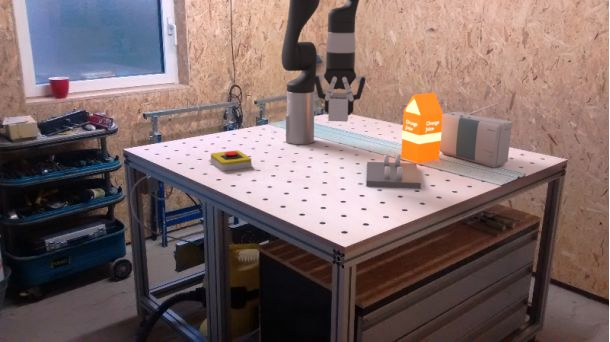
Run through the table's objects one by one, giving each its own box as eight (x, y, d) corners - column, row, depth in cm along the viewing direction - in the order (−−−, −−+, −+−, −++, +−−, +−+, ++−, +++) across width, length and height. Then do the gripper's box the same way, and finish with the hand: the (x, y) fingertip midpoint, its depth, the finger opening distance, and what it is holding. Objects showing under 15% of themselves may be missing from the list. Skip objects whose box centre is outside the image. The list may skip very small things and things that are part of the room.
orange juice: (439, 159, 170) (444, 94, 164) (417, 163, 165) (422, 96, 159) (421, 153, 176) (426, 90, 170) (400, 157, 172) (404, 92, 166)
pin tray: (366, 186, 145) (366, 169, 144) (367, 166, 162) (367, 151, 161) (420, 188, 143) (421, 171, 142) (415, 168, 160) (416, 153, 159)
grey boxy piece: (328, 120, 147) (328, 97, 145) (330, 114, 155) (331, 92, 153) (347, 121, 146) (348, 98, 144) (348, 114, 155) (349, 92, 153)
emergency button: (223, 160, 154) (206, 147, 166) (224, 175, 155) (207, 161, 168) (254, 156, 158) (236, 144, 171) (255, 170, 159) (236, 158, 172)
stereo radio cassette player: (436, 154, 175) (441, 91, 170) (453, 150, 180) (458, 88, 174) (494, 170, 160) (501, 101, 154) (510, 165, 164) (518, 98, 158)
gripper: (311, 51, 143) (311, 116, 148) (368, 52, 141) (365, 118, 146) (314, 48, 150) (314, 110, 155) (368, 49, 148) (365, 112, 153)
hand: (339, 113), depth 150 cm, fingers closed on grey boxy piece, 5 cm apart
